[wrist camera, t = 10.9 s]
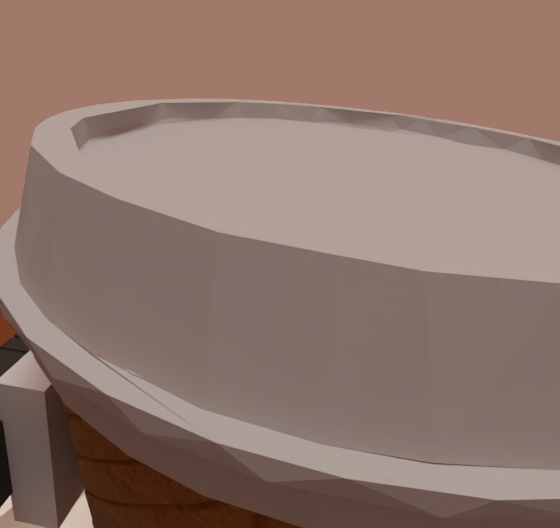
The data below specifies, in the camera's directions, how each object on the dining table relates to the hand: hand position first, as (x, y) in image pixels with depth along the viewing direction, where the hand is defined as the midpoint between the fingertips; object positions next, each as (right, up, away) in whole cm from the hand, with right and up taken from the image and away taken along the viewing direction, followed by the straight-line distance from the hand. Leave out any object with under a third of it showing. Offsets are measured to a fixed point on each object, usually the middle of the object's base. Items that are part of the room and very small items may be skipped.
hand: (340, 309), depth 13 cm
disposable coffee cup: (-1, -8, -1) cm, 9 cm away
